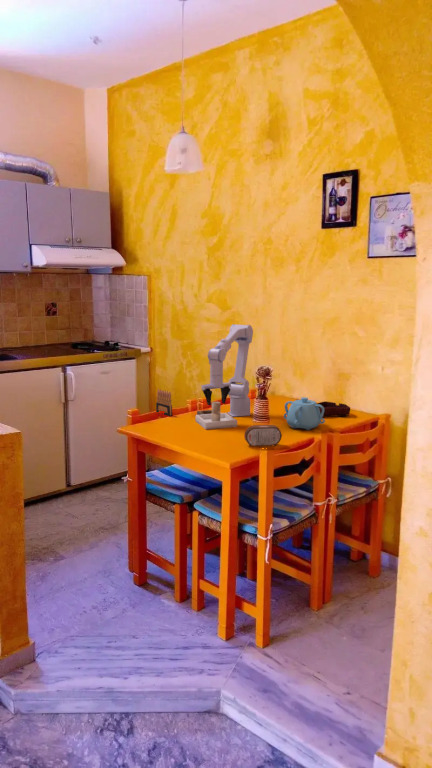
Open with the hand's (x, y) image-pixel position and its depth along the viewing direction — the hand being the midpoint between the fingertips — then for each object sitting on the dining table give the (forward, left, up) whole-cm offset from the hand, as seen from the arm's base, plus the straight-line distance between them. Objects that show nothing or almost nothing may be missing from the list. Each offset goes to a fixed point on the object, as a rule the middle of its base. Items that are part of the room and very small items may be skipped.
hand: (216, 404), depth 268 cm
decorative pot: (-36, +17, -10) cm, 41 cm away
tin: (-7, +38, -10) cm, 40 cm away
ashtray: (-60, -2, -10) cm, 61 cm away
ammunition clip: (+18, -26, -10) cm, 33 cm away
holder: (-1, -15, -9) cm, 17 cm away
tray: (0, 0, -9) cm, 9 cm away
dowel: (0, 0, -8) cm, 8 cm away
